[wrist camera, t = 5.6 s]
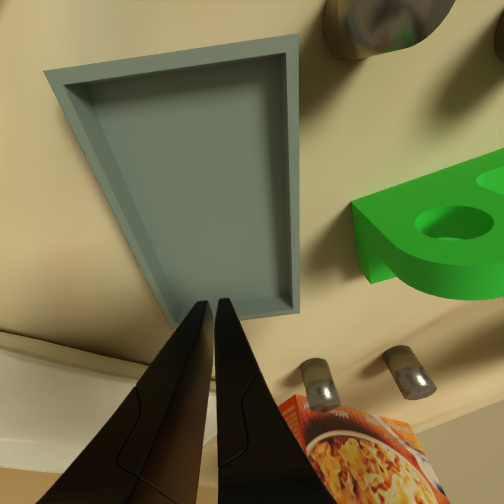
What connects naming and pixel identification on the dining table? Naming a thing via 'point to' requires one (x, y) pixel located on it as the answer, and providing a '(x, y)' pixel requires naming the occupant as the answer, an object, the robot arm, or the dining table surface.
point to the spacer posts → (356, 47)
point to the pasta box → (363, 455)
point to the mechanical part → (438, 231)
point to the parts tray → (199, 168)
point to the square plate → (61, 401)
